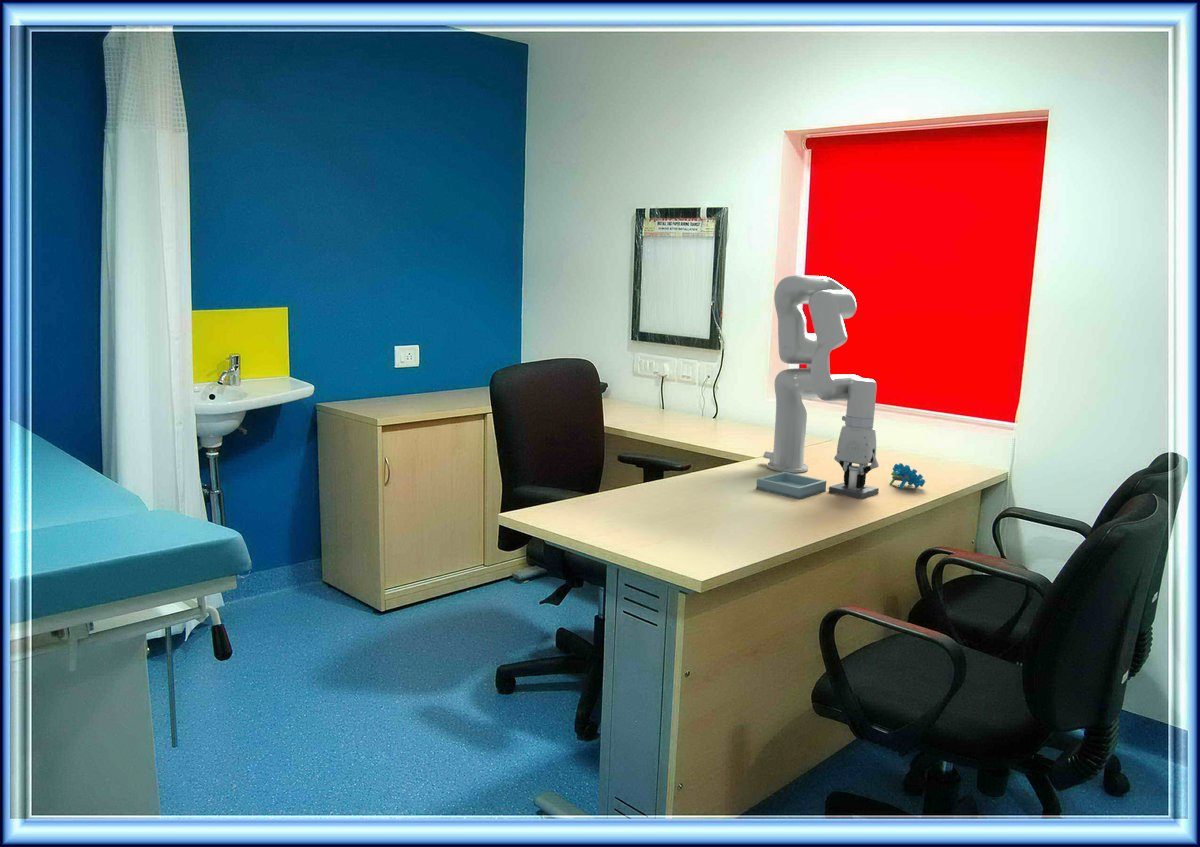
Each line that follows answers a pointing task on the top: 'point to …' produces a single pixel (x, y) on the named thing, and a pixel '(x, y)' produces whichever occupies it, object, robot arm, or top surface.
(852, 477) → the cylinder
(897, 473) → the blue lumpy figure
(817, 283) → the robot arm
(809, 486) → the parts tray
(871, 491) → the frame
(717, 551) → the top surface
